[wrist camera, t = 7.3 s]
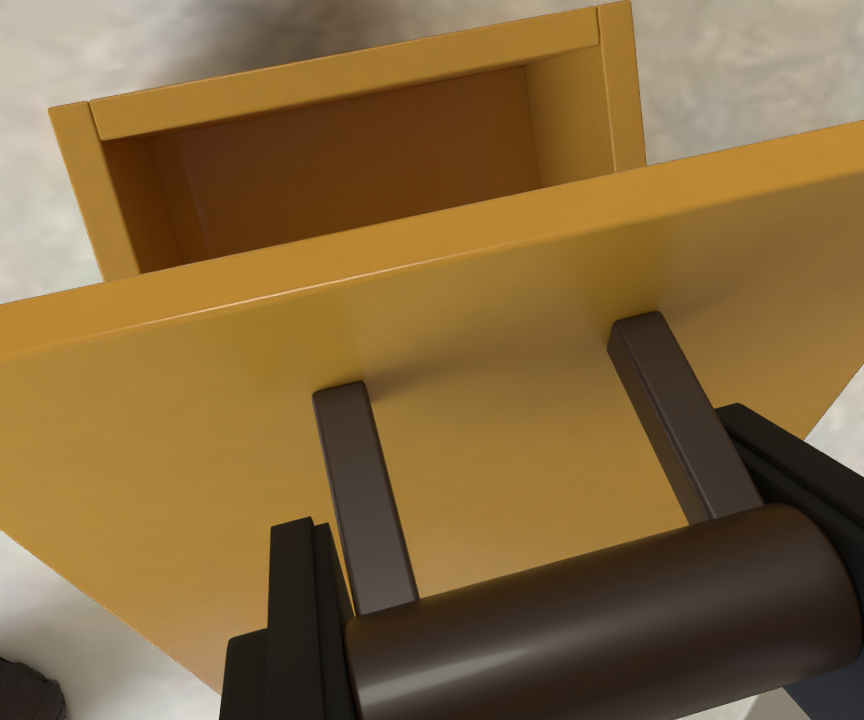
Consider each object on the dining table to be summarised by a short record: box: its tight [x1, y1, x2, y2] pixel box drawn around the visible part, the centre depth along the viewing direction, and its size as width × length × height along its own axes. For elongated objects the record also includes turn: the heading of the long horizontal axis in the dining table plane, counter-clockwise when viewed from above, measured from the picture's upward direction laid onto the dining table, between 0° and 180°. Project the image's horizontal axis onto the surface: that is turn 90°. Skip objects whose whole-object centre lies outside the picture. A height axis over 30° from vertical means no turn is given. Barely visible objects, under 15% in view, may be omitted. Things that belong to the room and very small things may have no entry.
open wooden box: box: [48, 0, 647, 282], centre depth 24 cm, size 16×14×7 cm
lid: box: [0, 120, 864, 720], centre depth 14 cm, size 17×14×5 cm
